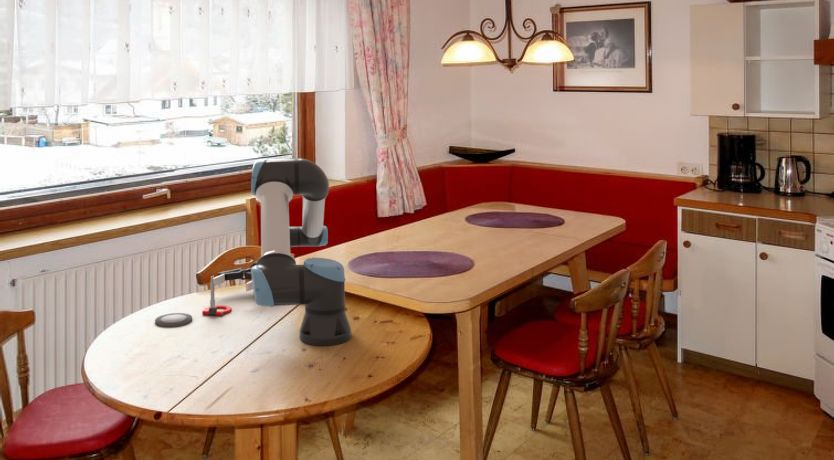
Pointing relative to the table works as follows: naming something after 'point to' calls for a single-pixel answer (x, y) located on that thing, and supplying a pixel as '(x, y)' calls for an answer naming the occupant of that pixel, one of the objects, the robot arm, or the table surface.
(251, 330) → the table surface
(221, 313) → the tow hook
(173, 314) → the plate
